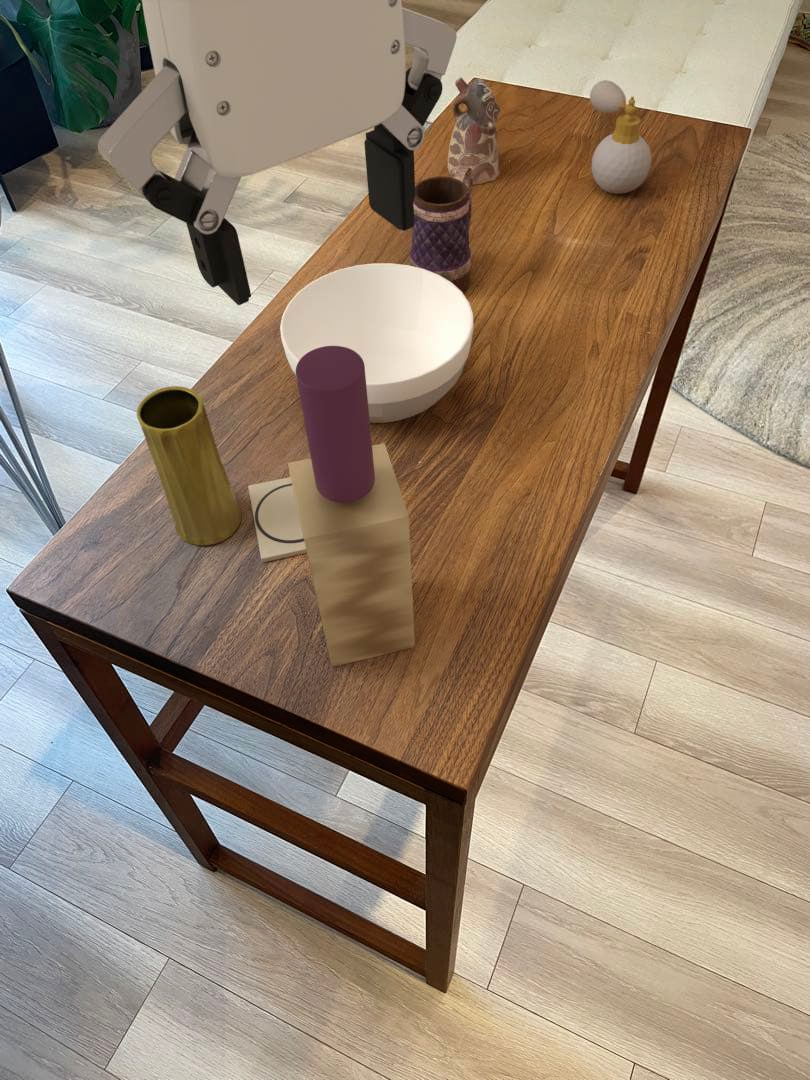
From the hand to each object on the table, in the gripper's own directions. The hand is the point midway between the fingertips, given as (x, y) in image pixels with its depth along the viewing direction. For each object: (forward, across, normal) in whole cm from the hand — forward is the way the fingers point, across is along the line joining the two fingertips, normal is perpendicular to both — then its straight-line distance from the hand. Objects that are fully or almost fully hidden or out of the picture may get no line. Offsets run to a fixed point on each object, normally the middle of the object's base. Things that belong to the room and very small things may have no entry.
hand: (314, 253), depth 42 cm
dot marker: (+18, 0, 0) cm, 18 cm away
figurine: (+36, -53, -51) cm, 81 cm away
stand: (+35, 0, 0) cm, 35 cm away
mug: (+36, -35, -34) cm, 61 cm away
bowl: (+35, -18, -23) cm, 46 cm away
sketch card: (+35, -3, -13) cm, 37 cm away
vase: (+35, +6, -18) cm, 40 cm away
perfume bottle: (+36, -64, -37) cm, 82 cm away
